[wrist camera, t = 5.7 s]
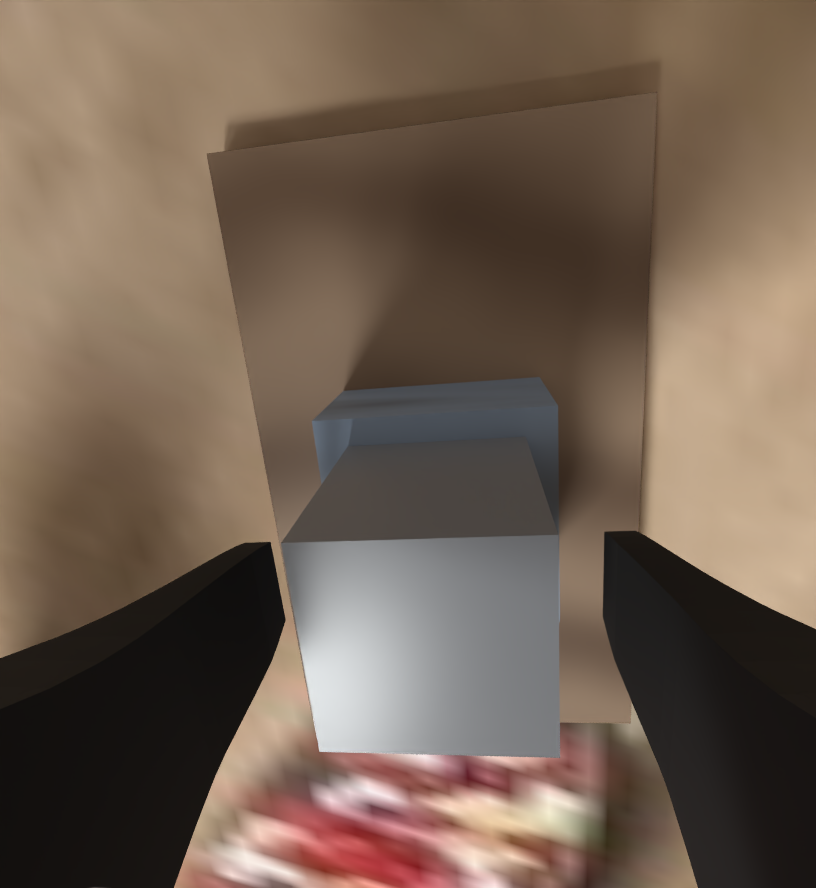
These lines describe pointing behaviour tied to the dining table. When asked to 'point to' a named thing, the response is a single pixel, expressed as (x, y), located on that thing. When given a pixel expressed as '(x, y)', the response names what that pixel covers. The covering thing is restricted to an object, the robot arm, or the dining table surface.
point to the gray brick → (430, 601)
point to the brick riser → (459, 318)
